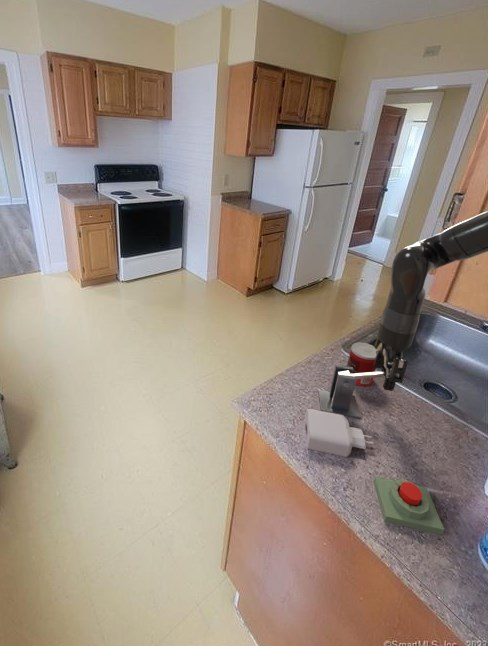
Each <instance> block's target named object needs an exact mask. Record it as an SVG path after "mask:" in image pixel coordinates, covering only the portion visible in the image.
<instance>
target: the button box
mask: <svg viewBox="0 0 488 646" xmlns="http://www.w3.org/2000/svg"><path fill="white" fill-rule="evenodd" d="M403 482H410V483H412V484H414V483H413V482H411V481H410V480H406V479H401V478H397V479H395V480H392V479H387V478H382V477H378V476H375V477H374V479H373V486H374V489H375V494H376V498H377V500H378V505H379V509H380V512H381V515H382V518H383V522H384V523H388V524H393V525H397V526H401V527H405V528H409V529H413V530H418V531H423V532H426V533H431V534H435V535H439V536H442V535H443V534H444V532H445V528H444V525H443V523H442V521H441V518H440V516H439V514H438V512H437V509H436V506H435V504H434V501H433V499H432V497H431V495H430V493H429V490H428V487H426V486H421V485H416V484H414V485H415V486H417V487H418V488H419V490H420V491H421V493H422V499H421V501H420V504H419V505H418V506H411V505H409V504H407V503H406V502H404V501H403V500H402V498H401V497H400V495H399V489H400V487H401V484H402V483H403Z"/></svg>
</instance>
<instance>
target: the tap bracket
mask: <svg viewBox="0 0 488 646" xmlns="http://www.w3.org/2000/svg"><path fill="white" fill-rule="evenodd" d="M348 370H349V373H350V374H352V373H353V367H348V366H347V365H341V364H335V366H334V370H333V374H332V379H331V384H330V388H329V390H325V389H320V388H319V389H317V395H318V401H319V408H320V411H323V412H329V413H334V414H340V415H343V416H344V417H346V418H353V419H357V420H361V419H362V416H361V412H360V409H359V405H358V403H357V399H356V395H354V393H355V388H356V385H355V384H356V380H357V379H356V377H352V376H346V375H340V374H338V371H348Z"/></svg>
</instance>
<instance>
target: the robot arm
mask: <svg viewBox="0 0 488 646" xmlns="http://www.w3.org/2000/svg"><path fill="white" fill-rule="evenodd" d="M485 253H488V211H485V212H482V213H480V214H478V215H475V216H473V217H470V218H468V219H466V220H464V221H462V222H459V223H457V224H455V225H453V226H451V227H449V228H447V229H445V230H444V231H442V232H440V233H437V234H435V235H432V236H430V237H427V238H425V239H423V240H419V241H417V242H415V243H413V244H410V245H408V246H405V247H403V248H402V249H400V250H399V251H398V252H397V253H396V254H395V256H394V258H393V261H392V264H391V269H390V270H391V271H390V289H389V292H388V295H387V296H388V297H387V300H386V303H385V305H384V308H383V311H382V314H381V318H380V321H379V322H380V323H379V325H378V328H377V333H376V338H375V343H374V345H373V346H374V347H375V349H377V350H376V359H375V362H374V367H375V368H376V369H380V370H381V366H384V367H385V368H386V378H385V377H384V382H383V385H382V388H383V390H384V391H389V392H392V391H393V392H394V390H395V387H396V384H397V383H399V384H402V383H403V381H404V377H405V373H406V371H407V368H408V367H407V366H408V360H406V359H403V351H404V350H406V349H409V348H411V346H412V345H413V341H414V339H415V336H416V333H417V329H418V326H419V322H420V317H421V312H422V309H423V306H424V303H425V299H426V290H425V289H424V286H425V282H426V279H427V277H428V274H429V273H431V272H432V271H434V270H437V269H439V268H441V267H444V266H446V265H449V264H451V263H454V262H461V261H464V260H465V261H466V260H468V259H472V258H473V257H474V258H475V257H478V256H480V255H482V254H485ZM391 364H392V365H391Z"/></svg>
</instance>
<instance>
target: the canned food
mask: <svg viewBox="0 0 488 646" xmlns="http://www.w3.org/2000/svg"><path fill="white" fill-rule="evenodd" d="M374 346H375V345H372V344H371V343H366V342H355V343H353V344H351V347H350V350H349V355H348V360H347V364H346V366H348V367H353V373H352V374H355V373H367V372H376V370H377V368H375V367H374V362H375V359H376V350H377V349H375V347H374ZM373 380H374V378H363V379H357V380H356V384H355V386H357V387H369V386H371V385H372V384H373Z"/></svg>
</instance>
